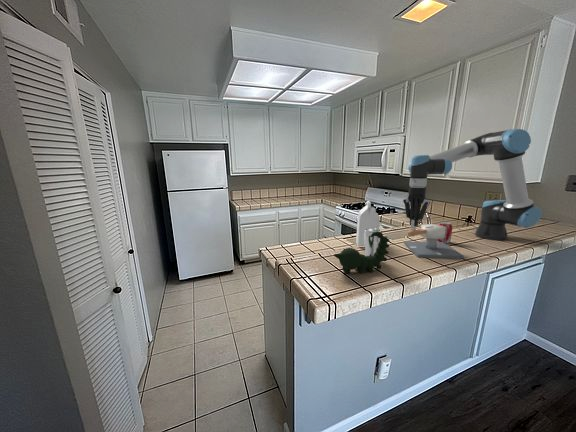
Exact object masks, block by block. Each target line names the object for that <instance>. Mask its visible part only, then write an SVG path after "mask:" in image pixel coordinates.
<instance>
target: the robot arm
mask: <svg viewBox="0 0 576 432" xmlns="http://www.w3.org/2000/svg"><path fill="white" fill-rule="evenodd" d="M531 138H532V137H531V136H530V133H529V132H528V131H527V130H524V129H522V128H511V129H505V130H499V131H495V132H488V133H485V134H482V135H479V136H477V137H474V138H471V139H469V140H466V141H464V143H462V144H461V145H457V146H455V147H453V148H449V149H446V150H443V151H441V152H438V153H435V154H433V155H429V154H420V155H419V154H418V155H414V156H412V157H411V161H410V162H409V164H408V166H407V168H408V172H409V173H410V174H409V175H410V176H409V188H408V196H407V197H406V198H404V199H403V200H402V202H403V204H404V209H405V215H406V218H408V219H409V226H410V230H417V227H418V226H419V221H421V220H423V219H424V218H425V217H424V216H425V214H426V212H427V209H428V206H429V205H430V204H431V201H428V200H427V198H426V193H427V188H426V187H427V183H428V176H429V175H445V174H449V173H450V172H451V170H452V169H453V163H454V162H457V161H460V160H464V159H466V158H469V159H470V158H471V159H472V158H474V157H477V156H488V155H489V156H491V155H492V156H493V159H494V161H495V162H498V165H499V169H500V176H501V180H502V186H503V191H504V194H505V195H504V196H505V199H501V200H499V199H498V200H497V199H496V200H493V199H492V200H485V201H484V202H483V204H482V206H481V215H480V221H479V225H478V227H477V228H476V230H475V232H474V235H475V237H478V238H482V239H486V240H491V241H493V240H494V241H505V240H508V232H507V227H506V224H507V225H513V226H517V227H522V228H530V227H534V226H535V225H536V224H538V222H540V220H541V218H542V216H543V215H542V214H543V211H542V208H540V207H539V206H535V204H534V201H533V199H531V198H529V193H528V187H527V183H526V181H527V180H526V176H525V167H524V164H523V157H524V155H525V154H526V151H527V150H529V148H530V145H531V143H532V139H531Z"/></svg>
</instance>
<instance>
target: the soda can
mask: <svg viewBox="0 0 576 432" xmlns="http://www.w3.org/2000/svg"><path fill="white" fill-rule="evenodd" d="M438 225H440V226H444V227H445V228H446V230H445V238H443V239H437V242H443V243H445V244H446V245H448V244H449V243H451V240H452V233H453V225H452V222H449V221H439V223H438Z"/></svg>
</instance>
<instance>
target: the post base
mask: <svg viewBox="0 0 576 432" xmlns="http://www.w3.org/2000/svg"><path fill="white" fill-rule="evenodd" d="M425 238H426V237H425ZM404 244H405V245H406V248H407V249H408V250H409V251H411V252H412V253H413V255H415V257H416V258H426V259H427V258H430V259H431V258H433V259H436V258H437V259H460V260H461V259H464V258H465V255H464V254H462V253H461V252H459V251H457V250H456V249H454V248H453V247H451V246H450V245H448V244H445V243H443V242H438V241H437V239H431V238H426V240H425V241H411V240H410V241H409V240H408V241H407V240H405V241H403V245H404ZM405 245H404V246H405Z"/></svg>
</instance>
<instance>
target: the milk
mask: <svg viewBox="0 0 576 432" xmlns="http://www.w3.org/2000/svg"><path fill="white" fill-rule="evenodd" d="M371 203H372V202H371V201H369V200H367V201H366V203H365V204H366V205H365V206H363V207H362V208H361V210H359V211H358V213H357V223H356V239H355V242H356V245H357V247H358V246H365V245H364V232H365V229H368V228H373V229H377V230H379V231H380V216H379V214H378V213H377V212H376V211H377V209H376V208H375V207H374V206H372V205H371ZM379 242H380V240H379V241H378V243H379ZM377 247H378V246H377Z"/></svg>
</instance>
